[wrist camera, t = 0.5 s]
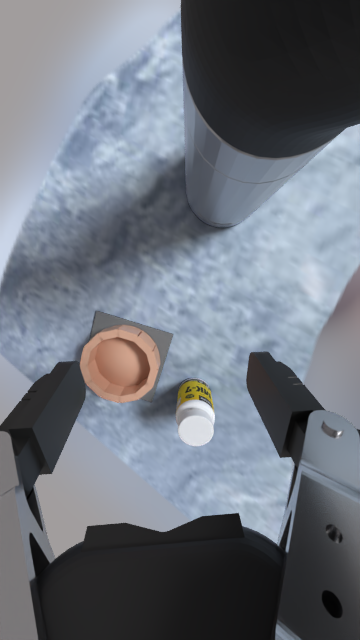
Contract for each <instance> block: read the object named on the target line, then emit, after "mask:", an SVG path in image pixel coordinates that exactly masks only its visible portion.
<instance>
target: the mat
mask: <svg viewBox="0 0 360 640" xmlns="http://www.w3.org/2000/svg"><path fill="white" fill-rule="evenodd" d="M115 325H131V326H134V327H137V328H139V329H141V330H143V331H145V332H146V333H147V334H148V335H149V336H150V337H151V338H152V339H153V340H154V342H155V343H156V345H157V347H158V350H159V354H160V361H161V362H160V366H159V370H158V373H157V376H156V379H155V383H154V386H153V388H152V389H151V390H150V391H148V392H147V393H146V394H145V395H144V396H142V397H141V398H140V399H142V400H145V401H149V402H152V400H153V397H154V394H155V391H156V387H157V384H158V381H159V378H160V375H161V372H162V368H163V365H164V362H165V359H166V356H167V353H168V349H169V346H170V343H171V340H172V337H173V334H171V333H168V332H165V331H161V330H158V329H155V328H152V327H149V326H145V325H142V324H139V323H136V322H132V321H129V320H126V319H123V318H119V317H116V316H113V315H110V314H106V313H103V312H100V311H96V315H95V319H94V323H93V328H92V332H91V336H90V340H91V339H92V338H93V337H94V336H95V335H96V334H98V333H99V332H101V331H102V330H103V329H105V328H109V327H112V326H115ZM82 377H83V375H82ZM83 380H84V377H83ZM84 382H85V380H84Z"/></svg>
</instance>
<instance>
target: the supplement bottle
mask: <svg viewBox="0 0 360 640" xmlns="http://www.w3.org/2000/svg"><path fill="white" fill-rule="evenodd" d="M176 421H177V424H178V434H179V436H180V438H181V440H182V441H183V442H185V443H186V444H188V445H191V446H202V445H204V444H206V443H208V442H209V441H210V440H211V438H212V436H213V432H214V429H213V424H214V421H215V414H214V408H213V402H212V396H211V391H210V388H209V386H208V384H207V383H206V382H205V381H203V380H201V379H198V378H190V379H187V380H185V381H184V382H183V383H182V384H181V385H180V387H179V390H178V399H177V408H176Z"/></svg>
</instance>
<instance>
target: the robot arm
mask: <svg viewBox="0 0 360 640" xmlns="http://www.w3.org/2000/svg"><path fill="white" fill-rule="evenodd" d="M181 32H182V57H183V97H184V129H185V178H186V195H187V199H188V203H189V205H190V207H191V209H192V211H193V212H194V213H195V215H196V216H197V217H198V218H199V219H200V220H202V221H203V222H204V223H206V224H209V225H211V226H215V227H230V226H234V225H237V224H239V223H241V222H242V221H244V220H245V219H246V218H248V217H249V216H250V215H251V214H252V213H253V212H254V211H256V210H257V209H258V208H259V207H260V206H261V205H262V204H263V203H264V202H266V201H267V200H268V199H269V198H270V197H271V196H272V195H273V194H274V193H275V192H277V191H278V190H279V189H280V188H281V187H282V186H283V185H284V184H285V183H286V182H287V181H289V180H290V179H291V178H292V177H293V176H294V175H295V174H296V173H297V172H298V171H300V170H301V169H302V168H303V167H304V166H305V165H306V164H307V163H308V162H309V161H310V160H311V159H312V158H314V157H315V156H316V155H317V154H318V153H319V152H320V151H321V150H322V149H323V148H324V147H326V146H327V145H328V144H329V143H330V142H331V141H332V140H333V139H334V138H335V137H336V136H338V135H339V134H340V133H341V132H342V131H343V130H344V129H346V128H347V127H350V126H354V125H357V124H360V0H181ZM246 382H247V388H248V391H249V394H250V396H251V398H252V400H253V402H254V404H255V406H256V408H257V410H258V412H259V414H260V417H261V419H262V421H263V423H264V425H265V427H266V429H267V431H268V433H269V435H270V437H271V439H272V441H273V444H274V446H275V448H276V450H277V452H278V454H279V456H280V458H282V457H291V458H292V459H293V461H294V463H295V464H294V467H293V472H292V477H291V482H290V487H289V492H288V497H287V502H286V507H285V512H284V517H283V521H282V525H281V529H280V533H279V537H278V542H277V544H276V543H274V542H273V541H272V540H270V539H269V538H267V537H266V536H264V535H262V534H260V533H259V532H257V531H254V530H252V529H249V528H247V527H243V526H242V524H241V520H240V516H239V513H235V514H223V515H212V516H202V517H200V518H197V519H195V520H193V521H191V522H188V523H186V524H184V525H181V526H179V527H177V528H174V529H172V530H170V531H167V532H159V531H155V530H151V529H147V528H143V527H139V526H136V525H132V524H128V523H119V524H107V525H96V526H88V527H87V531H86V534H85V539H84V541H83V542H80V543H78V544H76V545H75V546H73V547H71V548H69V549H68V550H67V551H65V552H64V553H62V554H61V555H60V556H58V557H57V558H56V559H55V556H54V553H53V551H52V548H51V546H50V543H49V539H48V536H47V532H46V528H45V524H44V520H43V515H42V511H41V507H40V503H39V499H38V495H37V491H36V487H35V485H34V484H35V482H36V480H37V478H38V476H39V475H42V474H52V472H53V470H54V468H55V465H56V463H57V461H58V459H59V456H60V454H61V452H62V450H63V448H64V445H65V443H66V441H67V439H68V436H69V434H70V432H71V429H72V427H73V425H74V423H75V421H76V418H77V416H78V414H79V412H80V409H81V407H82V405H83V403H84V400H85V395H86V389H85V384H84V380H83V377H82V373H81V369H80V365H79V363H78V362H77V361H69V362H59V363H57V365H56V366H55V367H54V369H53V370H52V371H51V373H50V374H45V375H44V376H43V377H41V378H40V379H39V380H37V381H36V382H35V383H34V384H33V385H32V387H31V388H30V389H29V390H28V393H26V394H25V395H24V397H23V398H22V401H20V402H19V403H18V404H17V405H16V407H15V408H14V409H13V411H12V412H11V413H10V414H9V415H8V417H7V418H6V419H5V420H4V422H3V423H2V424H1V425H0V640H360V430H358V429H356V428H355V427H354V426H353V424H352V423H350V422H349V421H348V420H347V419H345V418H344V417H342V416H340V415H338V414H336V413H334V412H330V411H326V410H325V409H324V408H323V407H322V406H321V405H320V403H319V402H318V401H317V400H316V399H315V397H314V396H313V395H312V394H311V393H310V391H309V390H308V389H307V388H306V387H305V385H303V383H302V382H301V381H300V379H299V378H297V376H296V375H295V373H294V372H293V371H292V370H291V369H290V368H289V367H288V366H286V365H285V364H283V363H282V362H276V361H275V360H274V359H273V357H272V356H271V355H270V353H269V352H251V353H250V356H249V363H248V371H247V379H246Z"/></svg>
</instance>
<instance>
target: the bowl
mask: <svg viewBox="0 0 360 640" xmlns="http://www.w3.org/2000/svg"><path fill="white" fill-rule="evenodd" d="M160 362H161V361H160V354H159V350H158V347H157V345H156V343H155V342H154V340H153V339H152V338H151V337H150V336H149V335H148V334H147V333H146V332H145V331H143V330H141V329H139V328H137V327H134V326H131V325H115V326H112V327H109V328H105V329H103V330H102V331H101V332H99V333H98V334H96V335H95V336H94V337H93V338H92V339H91V340H90V341H89V342H88V343H87V344H86V345H85V346H84V348H83V352H82V356H81V361H80V369H81V372H82V375H83V377H84V380H85V383H87V384H86V385H87V386H88V387H90V388H91V389H92V390H93V391H94V392H95V393H96V394H97V395H98V396H99V397H101V398H103V399H107V400H110V401H114V402H117V403H119V402H120V403H124V402H129V401H134V400H138V399H140V398H141V397H142V396H144V395H145V394H146V393H147V392H148V391H150V390H151V389H152V388H153V386H154V383H155V379H156V376H157V373H158V370H159V366H160Z"/></svg>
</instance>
